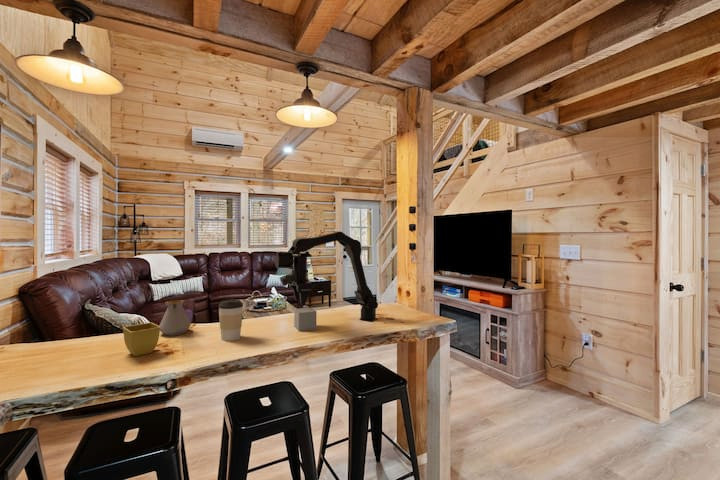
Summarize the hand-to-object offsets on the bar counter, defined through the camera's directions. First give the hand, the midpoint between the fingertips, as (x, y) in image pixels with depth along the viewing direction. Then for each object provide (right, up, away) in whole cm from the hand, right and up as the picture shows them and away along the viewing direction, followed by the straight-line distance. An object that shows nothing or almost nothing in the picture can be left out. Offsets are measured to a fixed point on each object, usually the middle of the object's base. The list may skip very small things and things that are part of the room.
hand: (299, 303), depth 143 cm
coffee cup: (-25, -11, -14) cm, 30 cm away
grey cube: (+2, -11, +1) cm, 11 cm away
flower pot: (-48, -11, -31) cm, 58 cm away
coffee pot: (-47, -11, -12) cm, 50 cm away
